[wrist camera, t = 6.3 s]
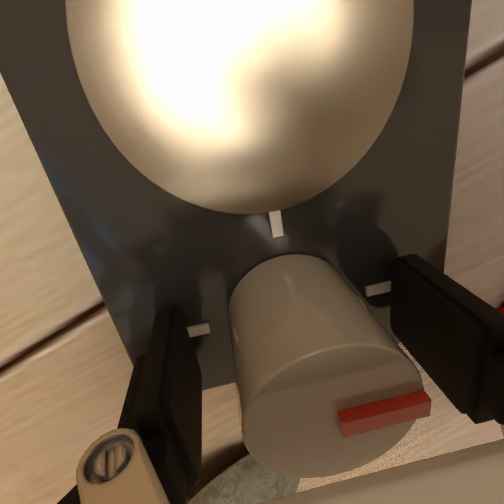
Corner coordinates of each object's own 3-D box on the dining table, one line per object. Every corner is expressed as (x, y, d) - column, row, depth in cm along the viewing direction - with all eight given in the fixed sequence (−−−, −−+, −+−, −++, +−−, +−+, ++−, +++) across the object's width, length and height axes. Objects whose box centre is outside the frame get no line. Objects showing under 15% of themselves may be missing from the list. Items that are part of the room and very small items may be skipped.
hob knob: (240, 367, 12) (261, 509, 8) (214, 269, 10) (223, 385, 6) (349, 341, 13) (427, 465, 8) (344, 240, 11) (441, 332, 6)
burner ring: (416, -225, 6) (425, -239, 6) (402, 181, 10) (407, 183, 10) (-6, -165, 6) (-15, -177, 6) (138, 237, 10) (136, 241, 9)
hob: (-37, -124, 8) (-141, -224, 5) (425, -192, 8) (512, -309, 6) (165, 378, 15) (158, 429, 13) (403, 322, 16) (438, 360, 14)
